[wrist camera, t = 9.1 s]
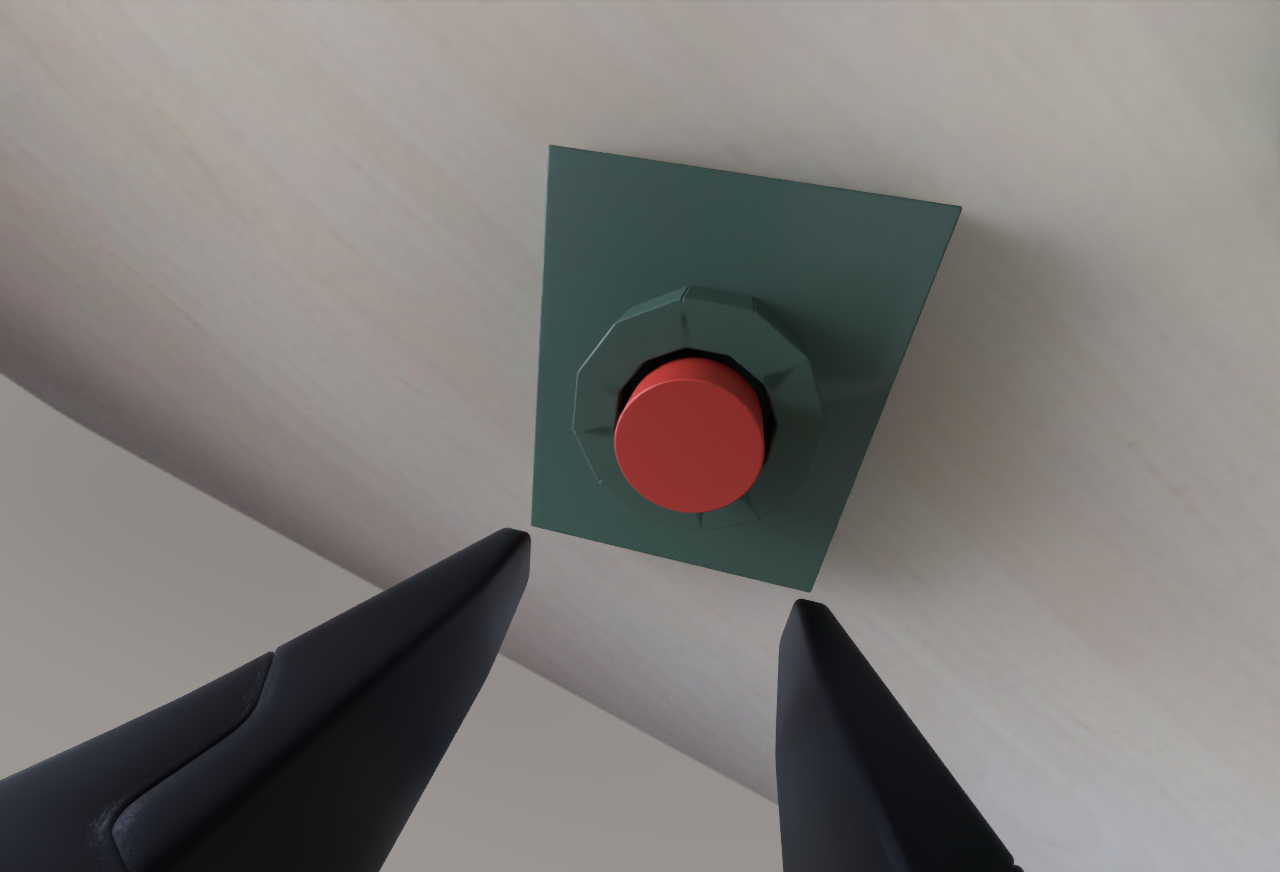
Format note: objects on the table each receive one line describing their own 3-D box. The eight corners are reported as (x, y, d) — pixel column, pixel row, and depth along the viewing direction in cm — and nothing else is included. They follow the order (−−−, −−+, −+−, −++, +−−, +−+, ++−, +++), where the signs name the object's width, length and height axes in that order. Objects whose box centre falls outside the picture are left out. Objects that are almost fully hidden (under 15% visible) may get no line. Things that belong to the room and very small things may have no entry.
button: (745, 491, 14) (744, 528, 13) (621, 463, 14) (605, 496, 13) (778, 371, 12) (782, 396, 11) (638, 344, 13) (623, 364, 11)
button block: (804, 552, 19) (817, 635, 15) (551, 493, 20) (509, 558, 16) (932, 204, 13) (998, 208, 10) (574, 150, 14) (518, 136, 11)
